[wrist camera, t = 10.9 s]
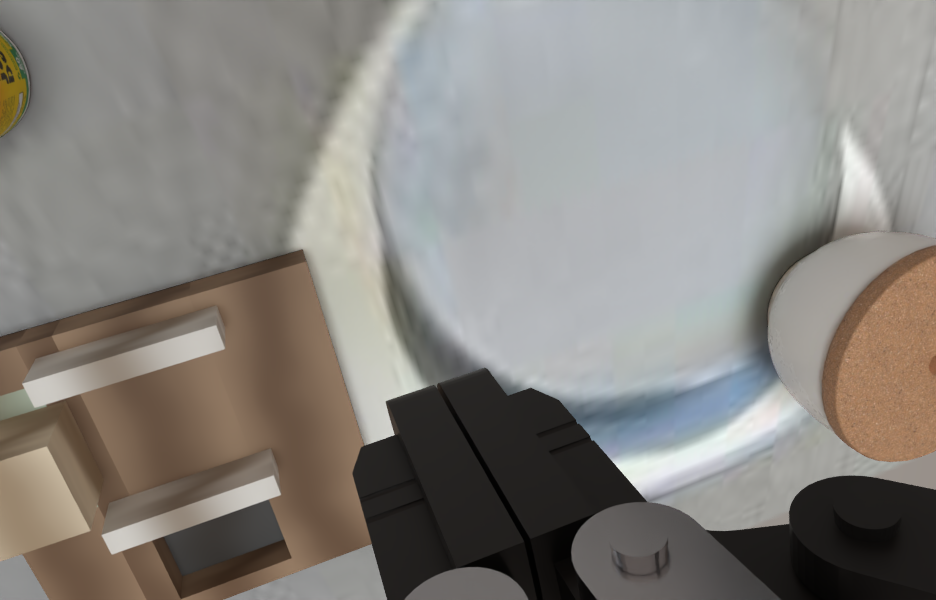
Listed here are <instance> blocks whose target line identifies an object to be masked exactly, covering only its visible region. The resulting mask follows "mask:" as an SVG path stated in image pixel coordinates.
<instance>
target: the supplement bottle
mask: <svg viewBox="0 0 936 600" xmlns="http://www.w3.org/2000/svg"><path fill="white" fill-rule="evenodd" d="M29 98H30V81H29V74H28V71H27V67H26V65H25V62H24V60H23V57H22V55H21V53H20V52H19V50H18V49H17V47H16V46H15V45H14V43H13V42H12V41H11V40H10V39H9V38H8V37H7V36H6V35H5V34H4V33H3V32H2V31H1V30H0V137H2V136H3V135H5V134H6V133H8V132H9V131H10V130H12V129H13V128H14V127H15V126H16V125H17V123H18V122H19V121H20V120H21V118H22V117H23V115H24V114H25V112H26V109H27V107H28V103H29Z"/></svg>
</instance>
